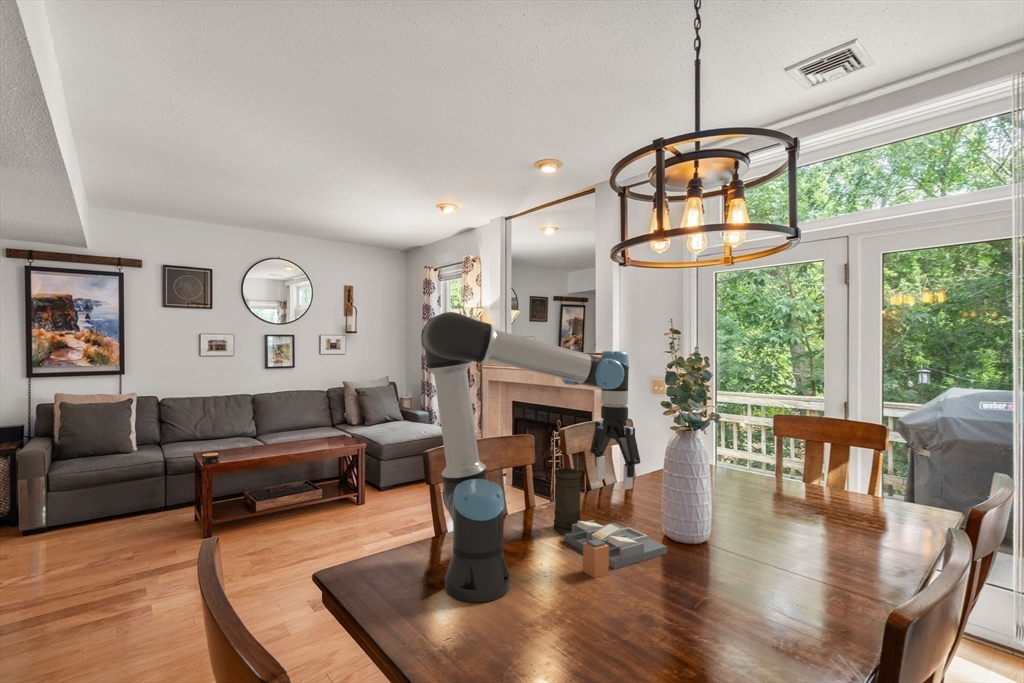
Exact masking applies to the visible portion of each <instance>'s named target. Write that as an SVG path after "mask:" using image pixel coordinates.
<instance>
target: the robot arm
mask: <svg viewBox="0 0 1024 683" xmlns="http://www.w3.org/2000/svg"><path fill="white" fill-rule="evenodd" d="M420 341H421V345H422V347H423V350H424V355H425V361H426V362H425V364H426V370H428V371H429V373H430V372H431V374H432V375H433V376H434V377H433V378H434V384H435V385H434V386H435V392H436V398H437V406H438V413H439V419H440V427H441V435H442V443H443V450H444V451H443V452H444V457H445V464H446V466H445V467H444V469H443V470H442V471H441V477H442V478H441V479H442V485H443V486H442V487H443V489H442V500H443V504H444V506H445V509H446V510H447V511H448V513H449V516H450V518H451V520H452V526H453V528H452V531H453V532H452V533H453V535H452V537H453V538H452V555H451V558H450V562H449V564H448V567H447V571H446V573H445V576H444V590H445V593H446V594H447V595H448V596H449V597H452V598H453V599H456V600H458V601H463V602H465V603H466V602H467V603H486V602H490V601H491V602H492V601H495V600H497V599H501V598H502V597H503V596H505V595H506V594H507V593H508V592H509V590H510V586H511V575H510V571H509V569H508V565H507V563H506V559H505V555H504V507H505V498H504V491H503V489H502V487H501V486H500V485H499V484H498V483H496V482H494V481H490V480H489V479H488V472H487V465H486V464H484V463H483V462H482V461H481V460H480V457H479V449H478V442H477V435H476V426H475V419H474V412H473V405H472V398H471V392H470V391H471V389H470V383H469V382H470V381H469V375H468V370H469V368H470V366H471V365H472V363H473V362H474V363H478V364H483V363H484V362H487V361H488V362H492V363H496V364H497V363H498V364H500V365H505V366H508V367H513V368H516V369H521V370H525V371H528V372H529V371H530V372H532V373H533V372H534V373H537V374H541V375H547V376H550V377H555V378H558V379H561V381H562V383H563V384H565V385H568V386H569V385H571V386H579V385H580V386H587V387H592V388H593V387H594V388H599V389H601V393H600V394H601V395H600V403H601V404H602V405H601V407H600V418H601V419H602V420H598V421H597V420H596V421H595V423H594V432H593V437H592V441H591V445H590V451H589V452H590V453H591V454H594V457H595V460H594V462H595V464H594V466H595V468H596V469H595V470H596V472H595V479H596V480H597V481H600V480H605V479H606V456H605V451H606V450H607V448H608V446H609V443H610V441H611V439H613V440H615V442H616V443H617V444H618V447H619V449H620V452H621V454H622V457H623V459H624V462H625V464H623V477H622V478H623V488H622V489H623V490H629V489H633V488H634V486H633V485H634V484H633V483H634V482H633V481H634V480H633V479H634V477H635V466H636V465H639V464H641V457H640V453H639V448H638V442H637V439H636V428H635V426H628V425H627V420H629V407H628V405H629V373H630V372H629V368H630V365H629V364H630V363H629V354H628V353H627V352H626V351H621V350H619V351H618V350H617V351H616V350H615V351H612V350H610V351H609V350H607V351H606V350H604V351H602V352H601V356H600V357H599V356H596V355H592V354H589V353H585V352H581V351H577V350H574V349H570V348H566V347H562V346H558V345H554V344H551V343H547V342H543V341H540V340H535V339H532V338H527V337H523V336H521V335H520V336H519V335H518V334H517V335H516V334H512V333H508V332H505V331H501V330H498V329H495V328H494V326H493V324H491V323H488V322H484V321H482V320H478V319H475V318H472V317H470V316H467V315H464V314H462V313H458V312H453V311H446V312H443V313H440V314H438V315H435V316H433V317H431V318H430V319H429V320H428V321H427V322H426V323H425V325H424V326H423V328H422V330H421V335H420Z"/></svg>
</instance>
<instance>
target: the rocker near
mask: <svg viewBox="0 0 1024 683" xmlns="http://www.w3.org/2000/svg"><path fill="white" fill-rule="evenodd" d="M608 542H609V543H611V544H613V545H615V546H617V547H626V546H630V545H634V544H637V543H638V542H636V541H633V540H631V539H629V538H625V537H616V536H609V538H608Z"/></svg>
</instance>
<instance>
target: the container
mask: <svg viewBox="0 0 1024 683" xmlns="http://www.w3.org/2000/svg"><path fill="white" fill-rule="evenodd" d="M553 474H554V479H555V484H554V485H555V486H554V488H555V492H554V493H555V494H554V496H555V501H554V502H555V504H554V505H555V507H554V508H555V509H554V519H553V525H552V527H553V531H555V532H556V533H559V534H561V535H562V534H563V535H564V534H567V533H571V532H572V524H576V523H577V522H578V521H582V520H581V515H582V514H581V478H582V477H581V476H582V474H583V473H582V471H581V470H579V469H576V468H567V467H564V468H563V467H562V468H556V469H555V470H554V472H553Z"/></svg>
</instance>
